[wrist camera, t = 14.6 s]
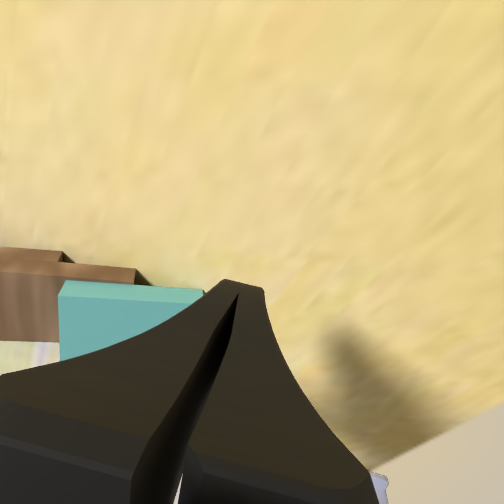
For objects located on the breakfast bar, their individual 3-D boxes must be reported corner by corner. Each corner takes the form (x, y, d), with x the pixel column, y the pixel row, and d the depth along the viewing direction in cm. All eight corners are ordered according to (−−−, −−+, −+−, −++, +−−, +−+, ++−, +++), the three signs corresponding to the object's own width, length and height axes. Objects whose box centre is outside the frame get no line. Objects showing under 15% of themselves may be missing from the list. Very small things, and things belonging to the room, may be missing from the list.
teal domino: (204, 304, 20) (57, 295, 18) (192, 365, 23) (60, 363, 20) (202, 289, 22) (66, 280, 20) (191, 348, 24) (67, 345, 22)
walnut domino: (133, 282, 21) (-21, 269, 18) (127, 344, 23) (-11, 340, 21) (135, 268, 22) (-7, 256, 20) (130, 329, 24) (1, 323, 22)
